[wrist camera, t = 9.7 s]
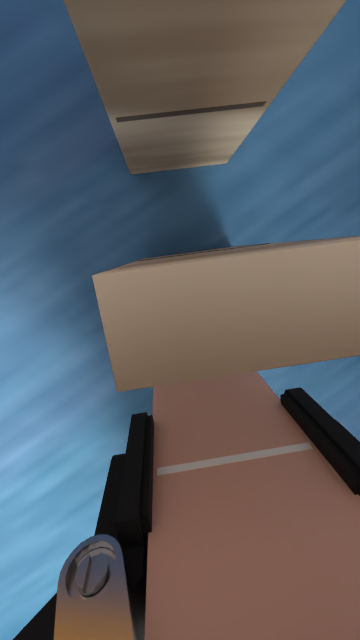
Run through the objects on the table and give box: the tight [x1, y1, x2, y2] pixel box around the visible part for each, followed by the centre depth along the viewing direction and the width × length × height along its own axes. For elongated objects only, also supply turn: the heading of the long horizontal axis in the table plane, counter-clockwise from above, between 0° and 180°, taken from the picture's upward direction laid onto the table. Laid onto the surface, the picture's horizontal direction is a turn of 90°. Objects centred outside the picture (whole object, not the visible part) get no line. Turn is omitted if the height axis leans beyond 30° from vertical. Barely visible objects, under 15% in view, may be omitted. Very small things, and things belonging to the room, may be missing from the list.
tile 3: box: [145, 371, 360, 640], centre depth 8 cm, size 2×5×11 cm, turn 97°
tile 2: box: [92, 236, 360, 392], centre depth 9 cm, size 2×5×11 cm, turn 97°
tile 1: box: [63, 0, 346, 175], centre depth 7 cm, size 2×5×11 cm, turn 97°
